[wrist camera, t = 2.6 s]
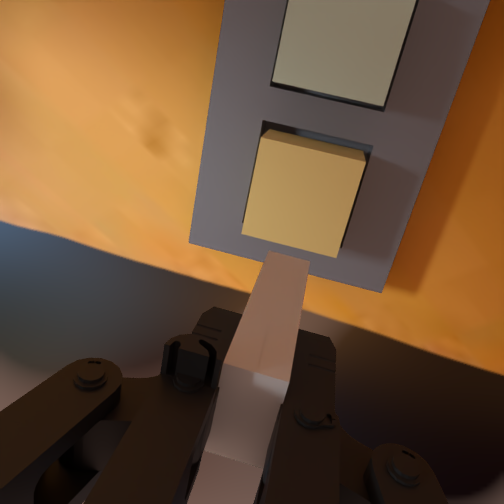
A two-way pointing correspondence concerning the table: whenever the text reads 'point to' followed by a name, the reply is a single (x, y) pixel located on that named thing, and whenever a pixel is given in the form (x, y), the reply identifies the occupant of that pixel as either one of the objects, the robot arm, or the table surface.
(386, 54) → the sage button
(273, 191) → the ochre button
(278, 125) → the button board
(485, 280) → the table surface
